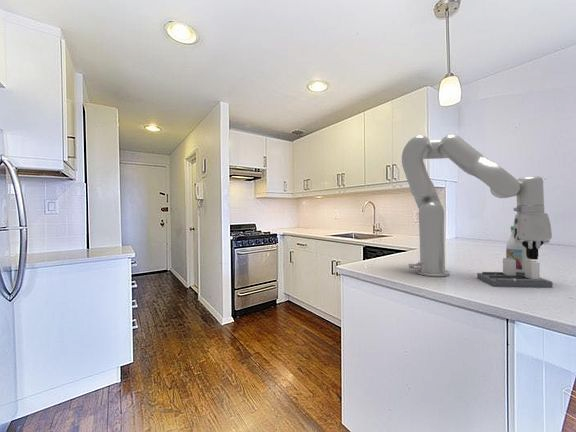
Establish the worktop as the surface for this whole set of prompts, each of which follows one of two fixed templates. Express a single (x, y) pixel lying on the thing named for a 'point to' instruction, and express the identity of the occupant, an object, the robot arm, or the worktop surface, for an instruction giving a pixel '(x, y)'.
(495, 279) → the dark grey tray
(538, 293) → the worktop surface
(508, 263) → the white rectangular block
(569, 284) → the worktop surface
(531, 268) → the front fader
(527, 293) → the worktop surface
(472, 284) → the worktop surface
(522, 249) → the milk bottle
